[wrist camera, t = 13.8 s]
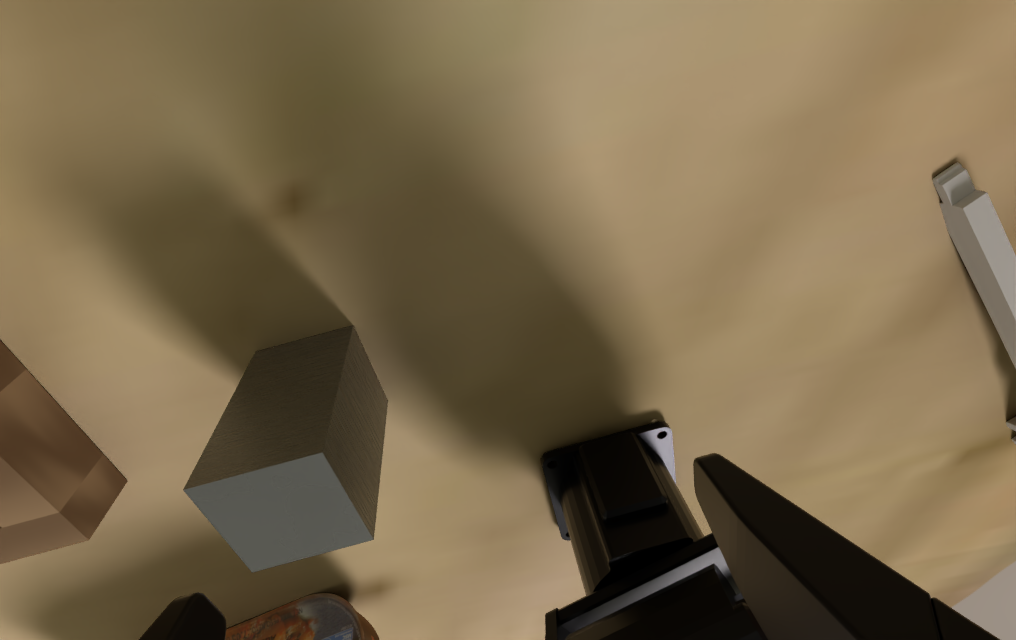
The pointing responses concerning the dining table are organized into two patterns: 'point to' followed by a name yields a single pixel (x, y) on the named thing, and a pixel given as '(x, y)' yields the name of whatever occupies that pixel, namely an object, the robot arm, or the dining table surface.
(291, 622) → the tin
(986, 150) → the dining table surface
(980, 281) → the caliper
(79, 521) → the bore block
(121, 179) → the dining table surface
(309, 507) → the square bit
